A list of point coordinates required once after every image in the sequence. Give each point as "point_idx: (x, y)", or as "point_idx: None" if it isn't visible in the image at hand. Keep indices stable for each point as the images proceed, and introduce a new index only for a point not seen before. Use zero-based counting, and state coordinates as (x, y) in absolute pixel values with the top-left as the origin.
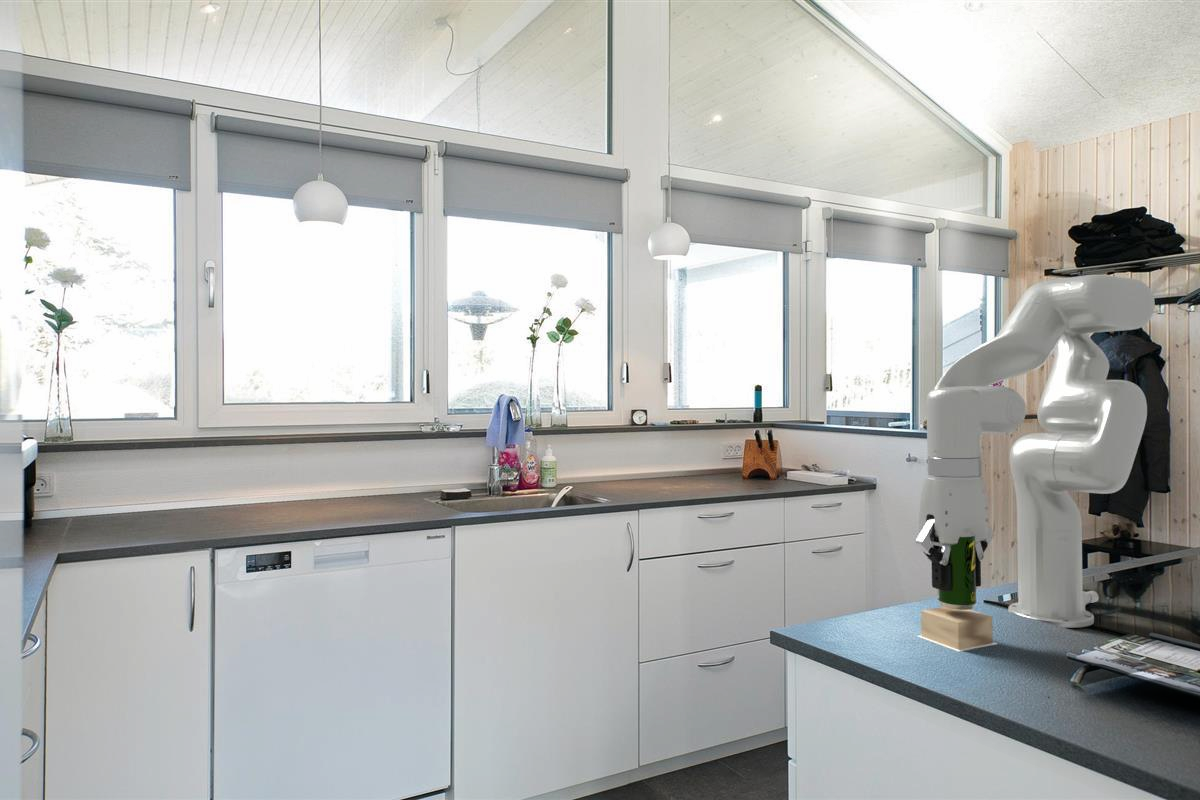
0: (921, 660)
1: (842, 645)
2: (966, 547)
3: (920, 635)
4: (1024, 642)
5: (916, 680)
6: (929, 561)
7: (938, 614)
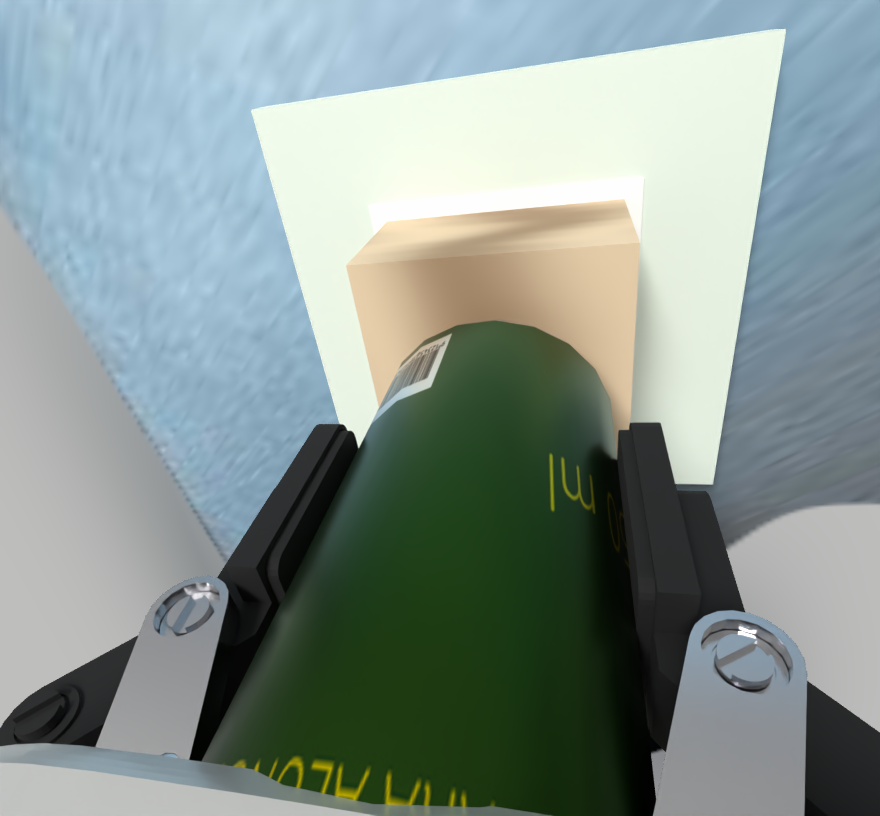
0: (283, 368)
1: (36, 103)
2: None
3: (390, 207)
4: (851, 370)
5: (192, 473)
6: (185, 584)
7: (394, 357)
